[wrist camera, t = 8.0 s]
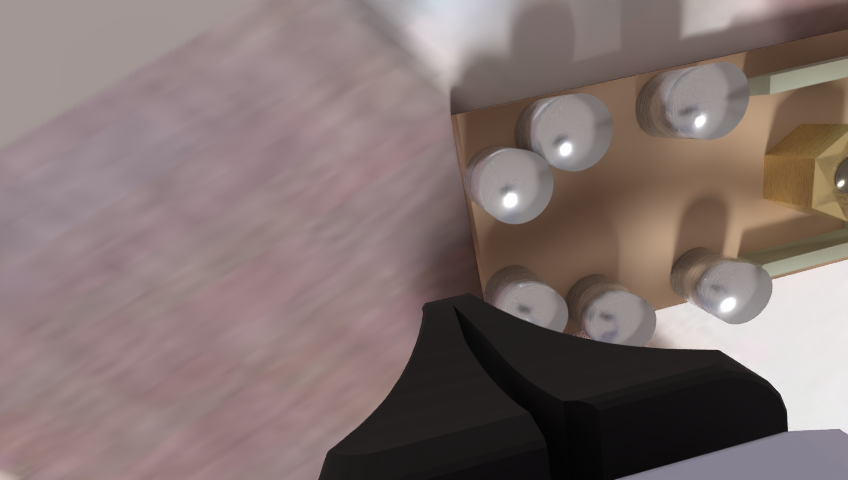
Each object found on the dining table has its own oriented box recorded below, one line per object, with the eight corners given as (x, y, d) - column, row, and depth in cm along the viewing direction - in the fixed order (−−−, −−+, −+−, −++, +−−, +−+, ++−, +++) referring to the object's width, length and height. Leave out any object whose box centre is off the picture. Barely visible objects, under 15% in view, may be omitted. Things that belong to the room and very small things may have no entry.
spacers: (720, 291, 23) (771, 315, 20) (493, 352, 22) (513, 386, 19) (722, 59, 19) (784, 47, 17) (452, 117, 18) (468, 116, 16)
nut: (847, 166, 22) (908, 172, 20) (777, 225, 22) (829, 237, 20) (819, 108, 21) (880, 105, 18) (746, 170, 21) (796, 176, 19)
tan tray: (839, 249, 25) (894, 263, 22) (491, 341, 23) (507, 368, 21) (862, 26, 21) (930, 12, 19) (450, 115, 20) (464, 113, 17)
